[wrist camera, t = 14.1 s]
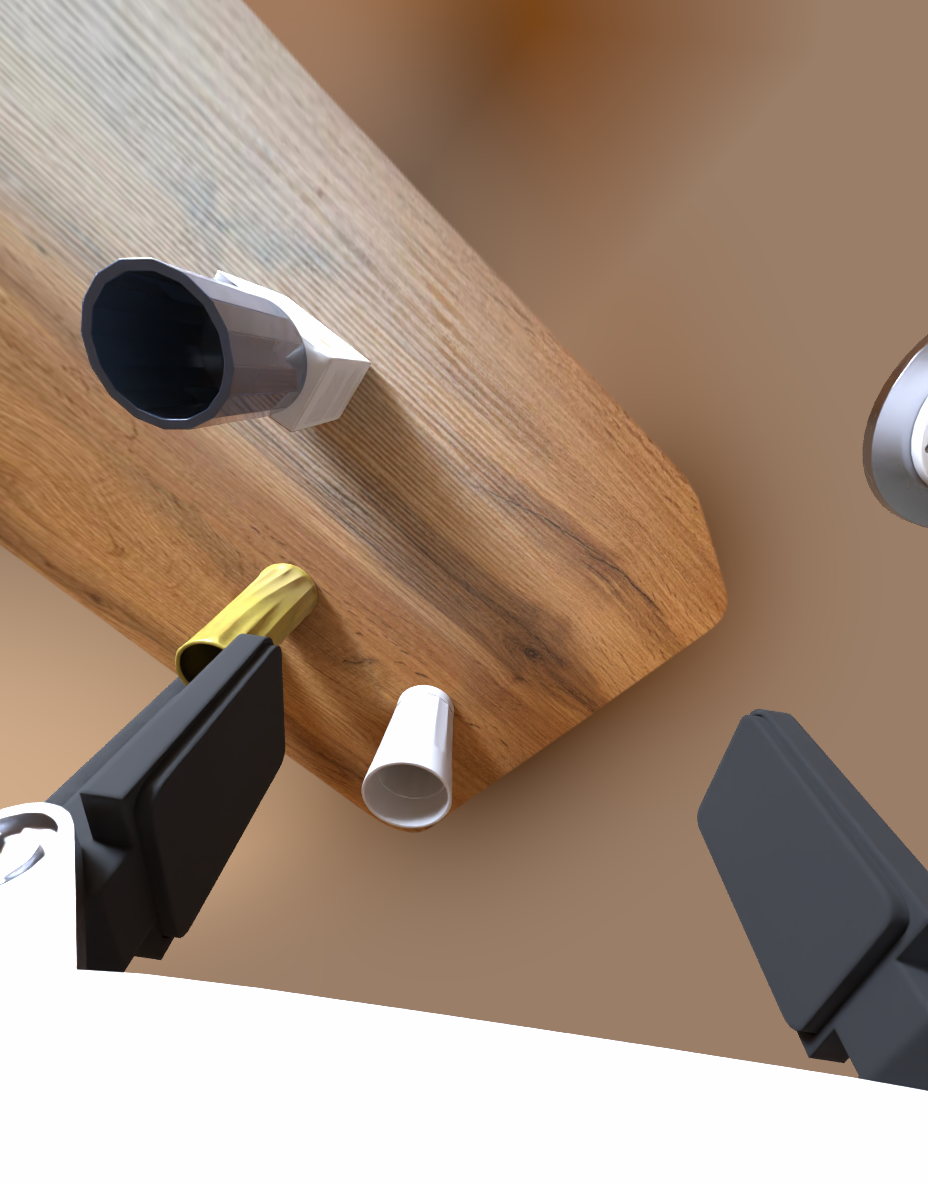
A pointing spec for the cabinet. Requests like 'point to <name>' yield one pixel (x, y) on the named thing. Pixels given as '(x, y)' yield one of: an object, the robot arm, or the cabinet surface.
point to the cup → (413, 761)
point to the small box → (314, 365)
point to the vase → (252, 617)
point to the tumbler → (189, 346)
